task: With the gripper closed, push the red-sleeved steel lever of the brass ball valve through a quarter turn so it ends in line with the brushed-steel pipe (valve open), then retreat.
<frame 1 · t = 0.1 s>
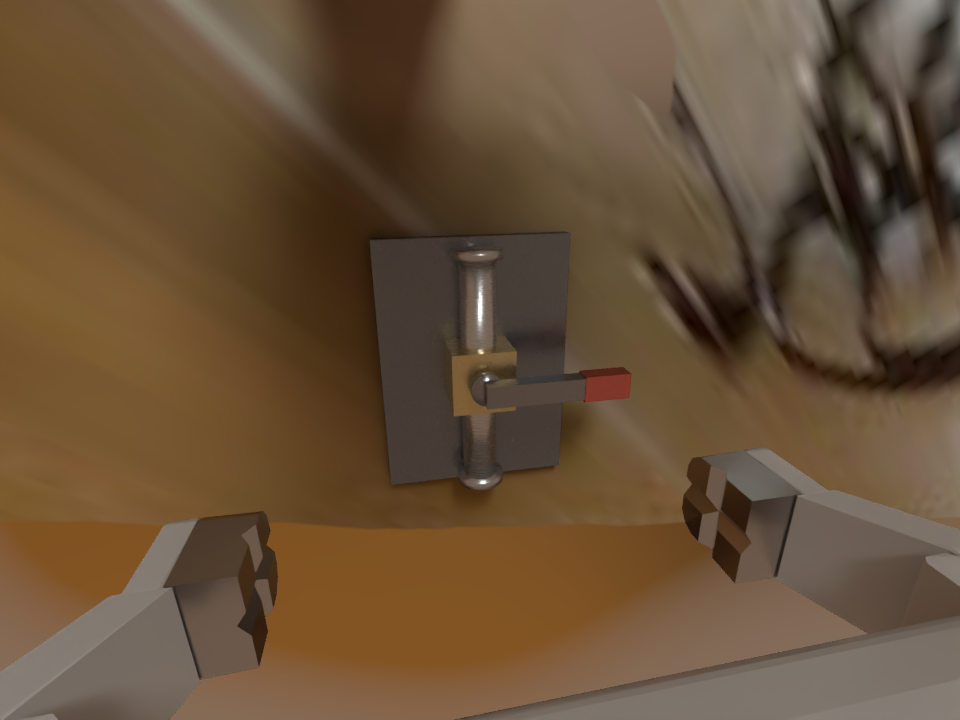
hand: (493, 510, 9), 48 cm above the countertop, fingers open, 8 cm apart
lever: (549, 386, 53), point 9 cm above the countertop, hinge at 90.0°
valve assembly: (473, 361, 60), on the countertop
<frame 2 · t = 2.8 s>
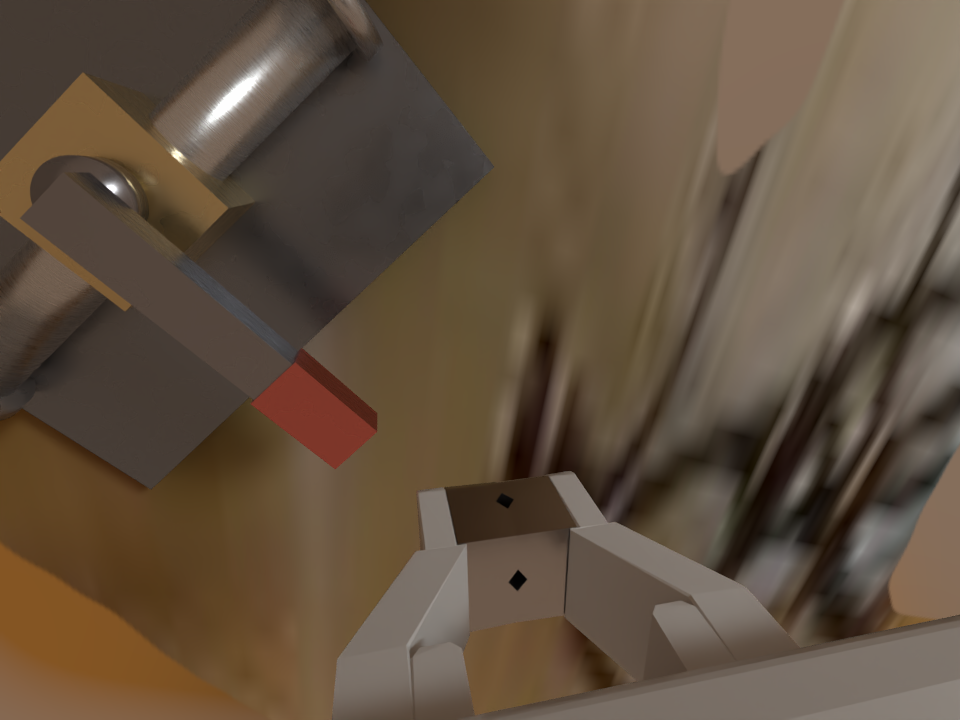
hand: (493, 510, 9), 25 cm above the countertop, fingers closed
lever: (219, 319, 22), point 9 cm above the countertop, hinge at 90.0°
valve assembly: (167, 194, 28), on the countertop
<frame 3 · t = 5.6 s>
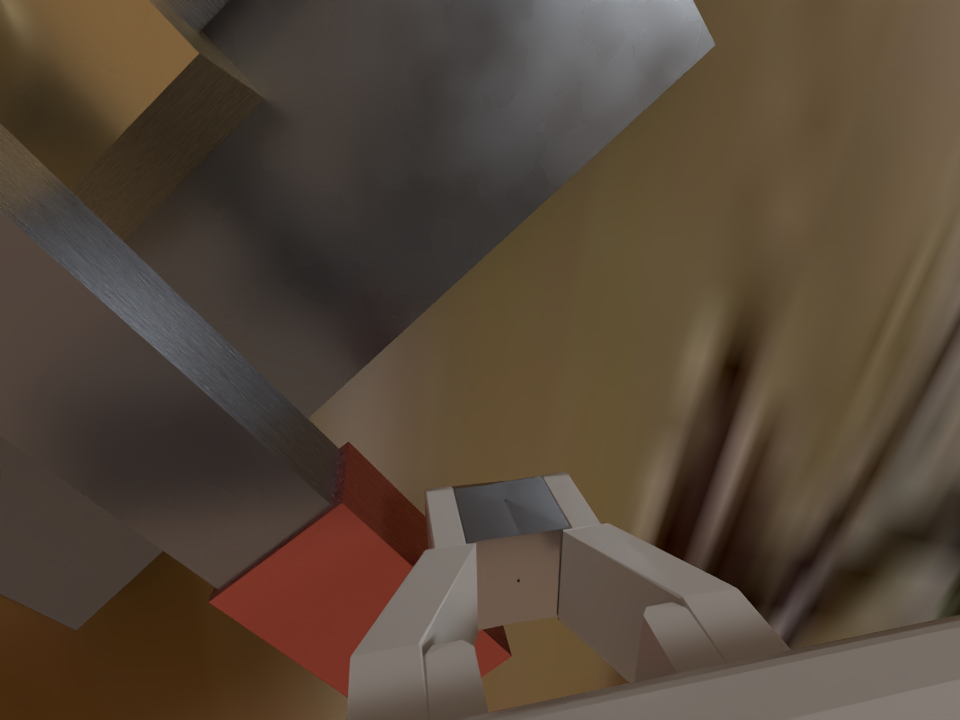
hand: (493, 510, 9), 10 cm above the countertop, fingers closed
lever: (147, 364, 8), point 9 cm above the countertop, hinge at 84.7°, touching gripper
valve assembly: (90, 86, 14), on the countertop
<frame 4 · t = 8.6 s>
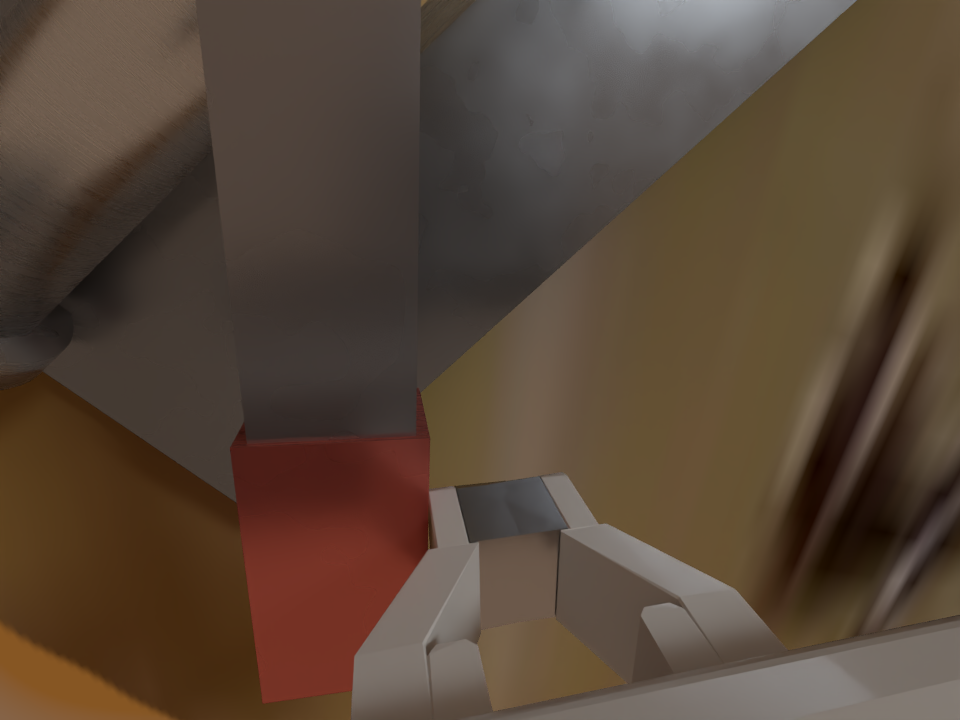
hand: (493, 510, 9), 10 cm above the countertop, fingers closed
lever: (332, 194, 8), point 9 cm above the countertop, hinge at 46.1°, touching gripper
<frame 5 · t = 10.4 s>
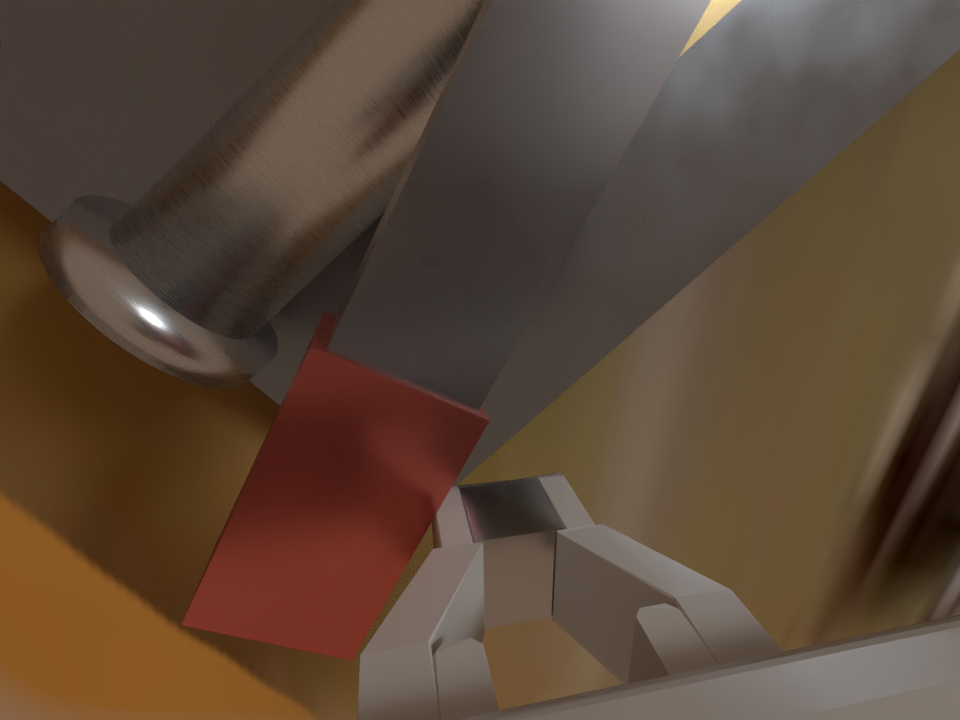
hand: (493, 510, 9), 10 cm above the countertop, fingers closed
lever: (492, 166, 8), point 9 cm above the countertop, hinge at 20.6°, touching gripper
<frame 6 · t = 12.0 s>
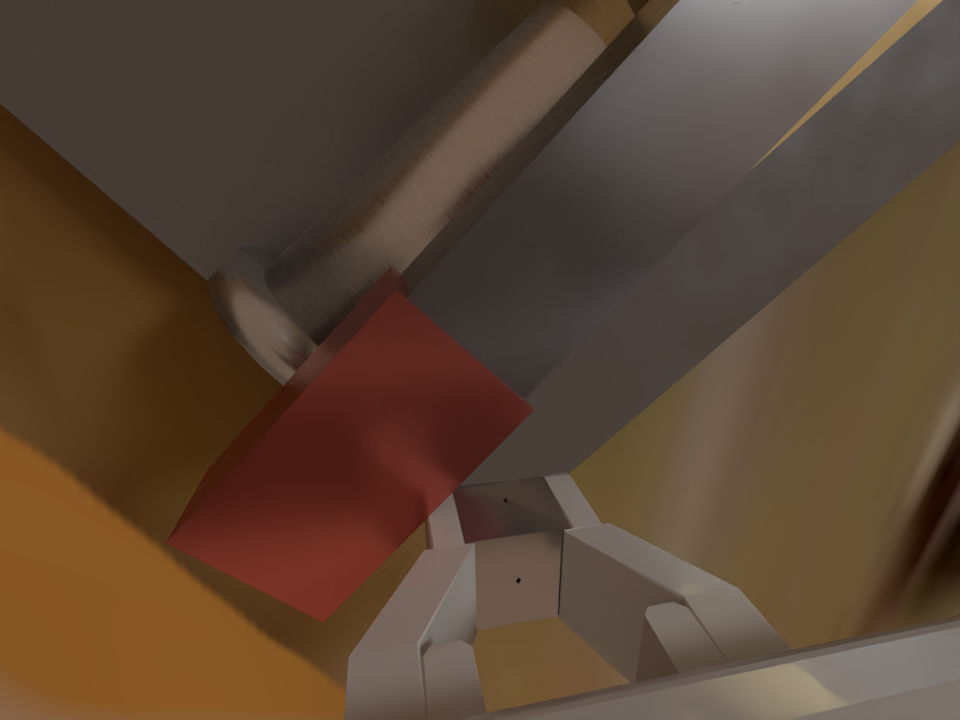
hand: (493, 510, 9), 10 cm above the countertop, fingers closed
lever: (589, 175, 8), point 9 cm above the countertop, hinge at 4.7°, touching gripper
valve assembly: (623, 20, 16), on the countertop
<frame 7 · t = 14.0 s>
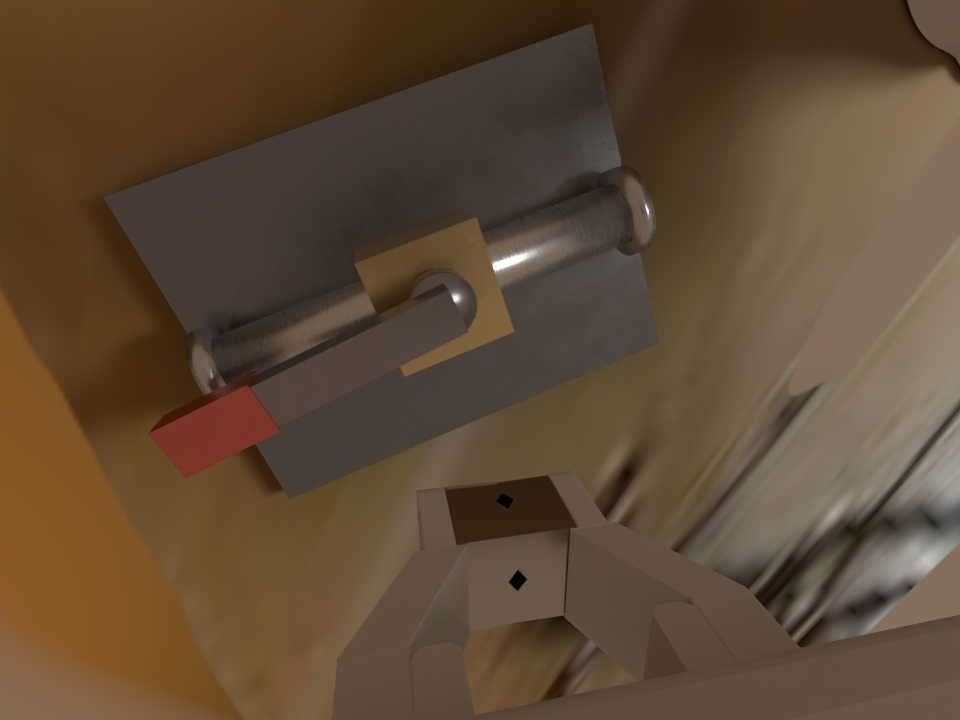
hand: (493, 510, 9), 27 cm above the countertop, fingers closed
lever: (330, 364, 26), point 9 cm above the countertop, hinge at 4.7°
valve assembly: (424, 278, 34), on the countertop
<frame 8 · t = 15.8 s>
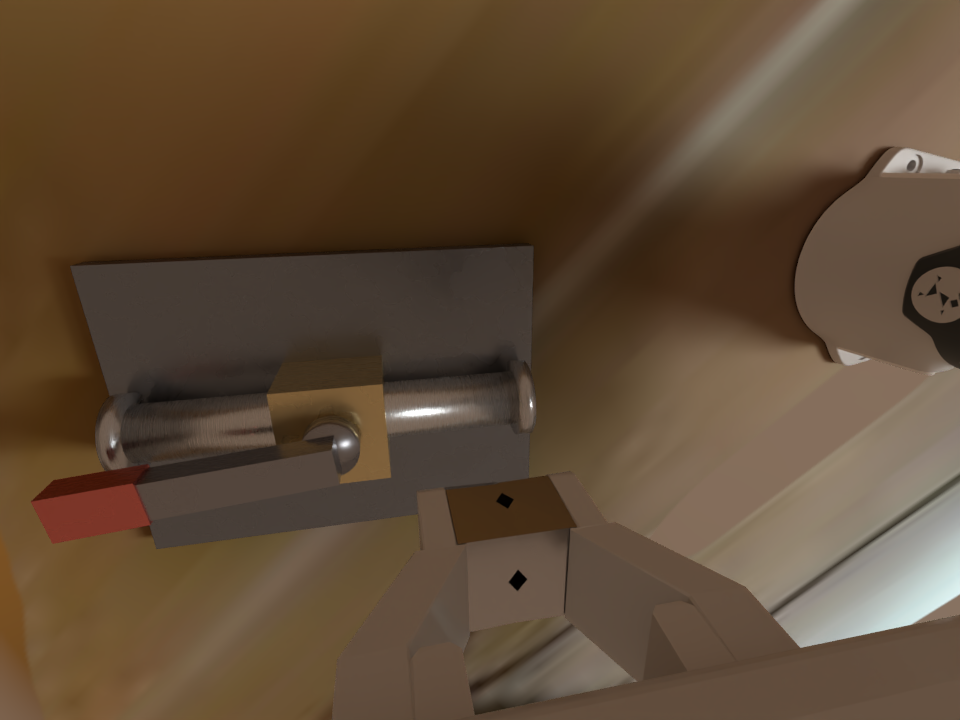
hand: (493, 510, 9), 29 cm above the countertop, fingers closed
lever: (216, 475, 29), point 9 cm above the countertop, hinge at 4.7°
valve assembly: (339, 394, 39), on the countertop
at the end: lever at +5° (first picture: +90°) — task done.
